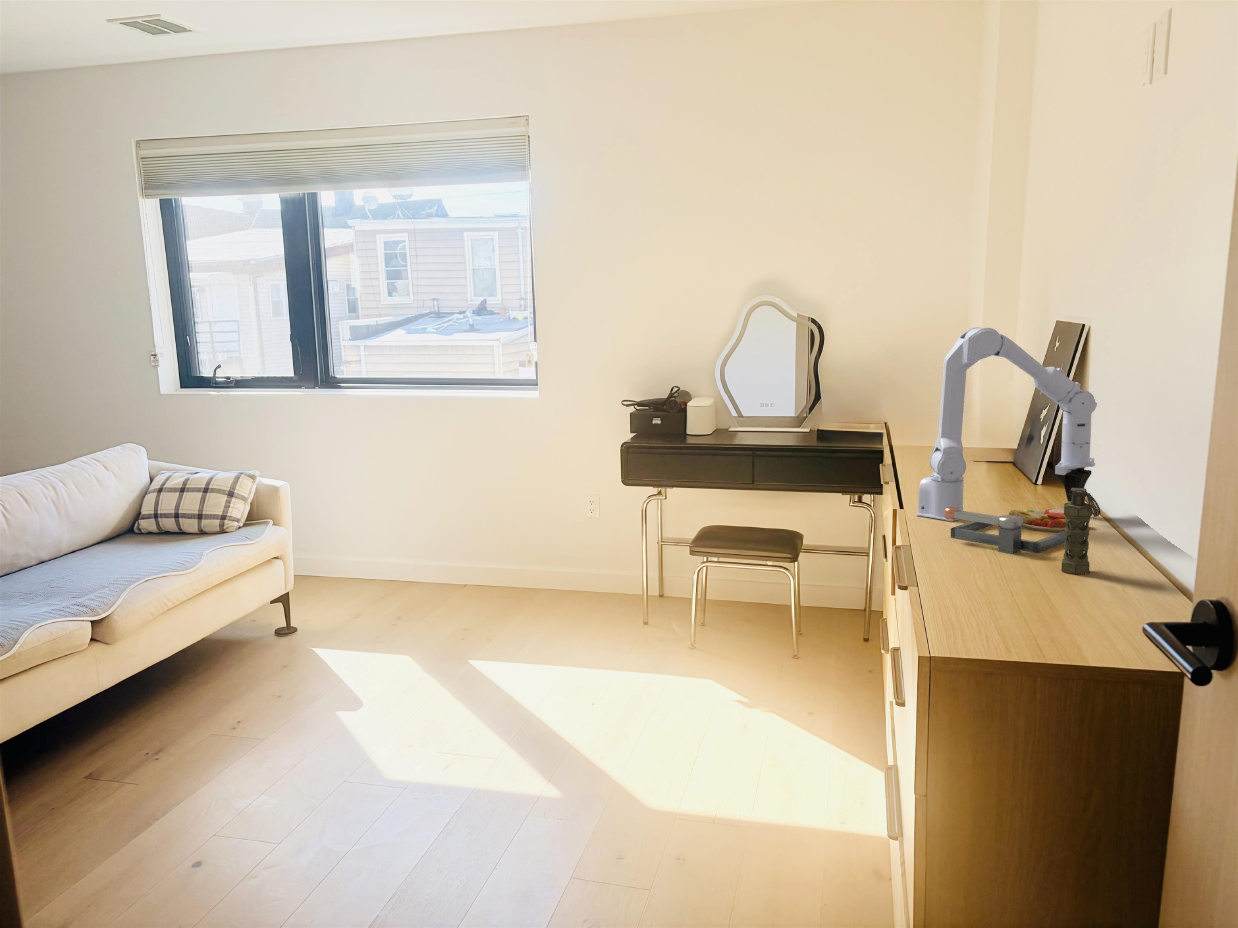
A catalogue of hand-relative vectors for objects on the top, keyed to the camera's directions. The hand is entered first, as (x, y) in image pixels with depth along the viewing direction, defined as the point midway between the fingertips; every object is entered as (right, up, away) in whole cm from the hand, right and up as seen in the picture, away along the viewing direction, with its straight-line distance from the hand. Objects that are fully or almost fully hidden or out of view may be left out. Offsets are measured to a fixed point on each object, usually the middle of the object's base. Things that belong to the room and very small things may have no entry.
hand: (1073, 501), depth 195 cm
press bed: (-23, -7, -18) cm, 30 cm away
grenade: (-20, -11, -40) cm, 46 cm away
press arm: (-30, -3, -22) cm, 38 cm away
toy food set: (-9, -5, -7) cm, 13 cm away
